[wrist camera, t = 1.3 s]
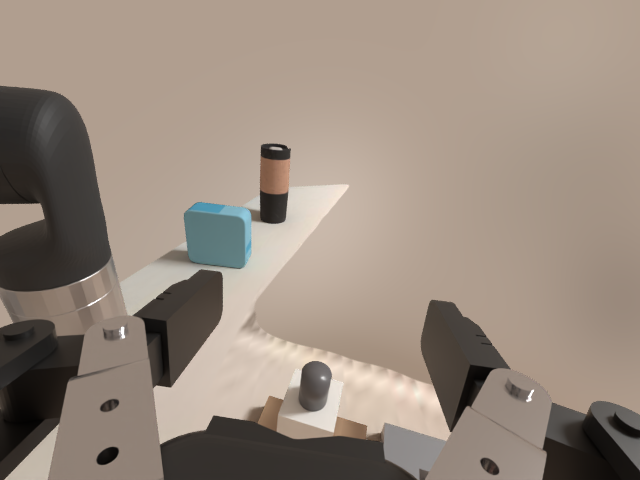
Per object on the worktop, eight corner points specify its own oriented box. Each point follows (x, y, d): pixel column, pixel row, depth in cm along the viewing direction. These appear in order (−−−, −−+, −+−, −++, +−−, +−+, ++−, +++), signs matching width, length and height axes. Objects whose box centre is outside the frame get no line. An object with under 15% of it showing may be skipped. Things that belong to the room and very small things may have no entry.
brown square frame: (217, 528, 27) (216, 518, 26) (268, 405, 37) (269, 395, 36) (348, 579, 25) (351, 571, 24) (363, 435, 35) (367, 425, 35)
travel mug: (254, 220, 83) (255, 146, 74) (266, 210, 90) (268, 142, 80) (280, 226, 82) (284, 151, 72) (290, 216, 88) (295, 146, 79)
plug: (272, 493, 30) (279, 390, 22) (287, 446, 34) (297, 345, 26) (316, 509, 29) (339, 408, 21) (326, 459, 33) (348, 359, 25)
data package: (251, 258, 66) (251, 208, 61) (245, 269, 62) (245, 217, 57) (197, 251, 66) (192, 200, 61) (188, 262, 62) (182, 209, 57)
